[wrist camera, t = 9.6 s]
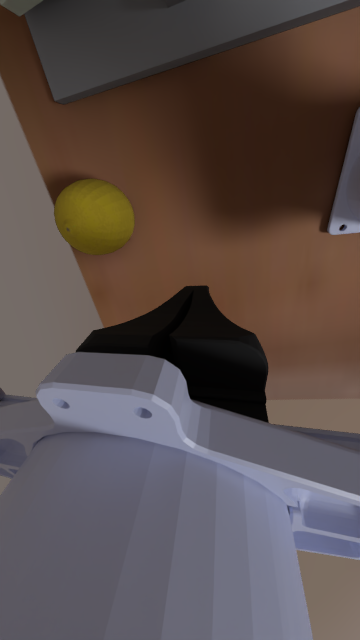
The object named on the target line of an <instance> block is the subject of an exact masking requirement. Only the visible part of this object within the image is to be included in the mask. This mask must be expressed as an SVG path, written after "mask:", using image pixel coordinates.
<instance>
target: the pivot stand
mask: <svg viewBox="0 0 360 640" xmlns="http://www.w3.org/2000/svg"><path fill="white" fill-rule="evenodd" d="M358 6H360V0H43V1H42V2H40V3H39V4H37V5H36V6H34V7H33V8H31V9H30V10H29V11H27V12H26V13H24V15H25V18H26V20H27V23H28V26H29V29H30V32H31V35H32V38H33V41H34V43H35V46H36V49H37V52H38V55H39V58H40V61H41V63H42V66H43V69H44V72H45V75H46V78H47V81H48V84H49V86H50V89H51V92H52V95H53V98H54V101H56V102H58V103H60V104H63V105H64V104H67V103H70V102H73V101H76V100H79V99H82V98H85V97H88V96H91V95H94V94H97V93H100V92H103V91H106V90H109V89H112V88H115V87H118V86H121V85H124V84H127V83H130V82H133V81H136V80H139V79H142V78H145V77H148V76H151V75H154V74H157V73H160V72H163V71H166V70H169V69H172V68H175V67H178V66H181V65H184V64H187V63H190V62H193V61H196V60H199V59H202V58H205V57H208V56H211V55H214V54H217V53H220V52H223V51H226V50H229V49H232V48H235V47H238V46H241V45H244V44H247V43H250V42H253V41H256V40H259V39H262V38H265V37H268V36H271V35H274V34H277V33H280V32H283V31H286V30H289V29H292V28H295V27H298V26H301V25H304V24H307V23H310V22H313V21H316V20H319V19H322V18H325V17H328V16H331V15H334V14H337V13H340V12H343V11H346V10H349V9H352V8H355V7H358Z"/></svg>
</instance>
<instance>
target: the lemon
mask: <svg viewBox="0 0 360 640" xmlns="http://www.w3.org/2000/svg"><path fill="white" fill-rule="evenodd" d="M54 216H55V221H56V225H57V227H58V230H59V232H60V233H61V235H62V236H63V238H64V239H65V240H66V241H67V242H68V243H69V244H70V245H71V246H72V247H74V248H75V249H77V250H79V251H81V252H84V253H87V254H92V255H103V254H108V253H112V252H114V251H116V250H118V249H120V248H121V247H123V246H124V245H125V243H126V242H127V241H128V240H129V239H130V237H131V235H132V232H133V229H134V223H135V222H134V213H133V209H132V206H131V204H130V202H129V200H128V199H127V197H126V196H125V195H124V193H123V192H122V191H121V190H119V189H118V188H117V187H116V186H114V185H112V184H110V183H108V182H106V181H103V180H98V179H84V180H79V181H76V182H74V183H72V184H71V185H69V186H67V187H66V188H65V189H63V191H62V192H61V193H60V195H59V196H58V197H57V200H56V203H55V207H54Z"/></svg>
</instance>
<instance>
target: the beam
mask: <svg viewBox="0 0 360 640" xmlns="http://www.w3.org/2000/svg"><path fill="white" fill-rule="evenodd" d="M42 1H43V0H0V4H1V5H2V6H3V7H5V8H6V9H8V10H10V11H11V12H13V13H15V14H16V15H18V16H19V17H20V16H21V15H23V14H24V13H26V12H27V11H29V10H30V9H31V8H33V7H34V6H36V5H37V4H39V3H40V2H42Z"/></svg>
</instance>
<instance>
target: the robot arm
mask: <svg viewBox="0 0 360 640" xmlns="http://www.w3.org/2000/svg"><path fill="white" fill-rule="evenodd" d="M343 224H344V225H345V227H344V228H343V229H342V230H339V228H340V226H341V225H343ZM327 231H328V233H330V234H331V235H337V234H348V233H358V232H360V107H359V108H358V110H357V112H356V116H355V120H354V124H353V128H352V132H351V136H350V140H349V144H348V148H347V152H346V156H345V160H344V164H343V168H342V172H341V176H340V180H339V184H338V188H337V192H336V196H335V200H334V204H333V208H332V212H331V216H330V220H329V224H328V228H327ZM267 375H268V363H267V359H266V356H265V353H264V351H263V349H262V346H261V344H260V342H259V340H258V339H257V337H256V335H255V334H254V333H252V332H250V331H247V330H245V329H243V328H241V327H239V326H237V325H236V324H234V323H233V322H231V321H230V320H229V319H227V318H226V317H225V316H224V315H223V314H222V313H221V312H220V311H219V309H218V308H217V307H216V305H215V304H214V302H213V300H212V298H211V296H210V294H209V287H208V286H186V287H184V288H183V289H182V290H180V291H179V292H178V293H177V294H176V295H174V296H173V297H172V298H171V299H169V300H168V301H166V302H165V303H164V304H162V305H161V306H159V307H158V308H156V309H154V310H152V311H150V312H149V313H147V314H145V315H142V316H140V317H138V318H135V319H133V320H130V321H127V322H125V323H121V324H118V325H115V326H111V327H107V328H102V329H99V330H93V331H92V332H91V334H90V335H89V336H88V337H87V338H86V340H85V341H84V342H83V343H82V344H81V345H80V346H79V348H78V349H77V350H76V352H75V353H72V354H68V355H66V356H65V357H64V358H63V359H62V360H61V361H60V362H59V363H58V365H56V366H55V368H54V369H53V370H52V371H51V372H50V373H49V374H48V375H47V376H46V378H45V379H44V380H43V381H42V382H41V383H40V384H39V387H38V388H37V390H36V396H37V398H31V397H22V396H13V395H5V393H4V391H3V390H2V389H1V388H0V475H1V476H4V477H8V478H10V479H12V480H11V481H10V482H9V484H8V485H7V487H6V488H5V489H4V491H3V492H2V494H1V495H0V640H313V637H312V631H311V626H310V621H309V616H308V610H307V605H306V599H305V594H304V589H303V584H302V578H301V573H300V568H299V563H298V557H297V552H296V550H302V551H308V552H314V553H320V554H327V555H332V556H339V557H345V558H351V559H357V560H360V434H356V433H348V432H338V431H330V430H320V429H311V428H302V427H293V426H284V425H275V424H270V423H269V422H268V416H267V411H266V405H265V404H266V395H265V386H266V381H267Z"/></svg>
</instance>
